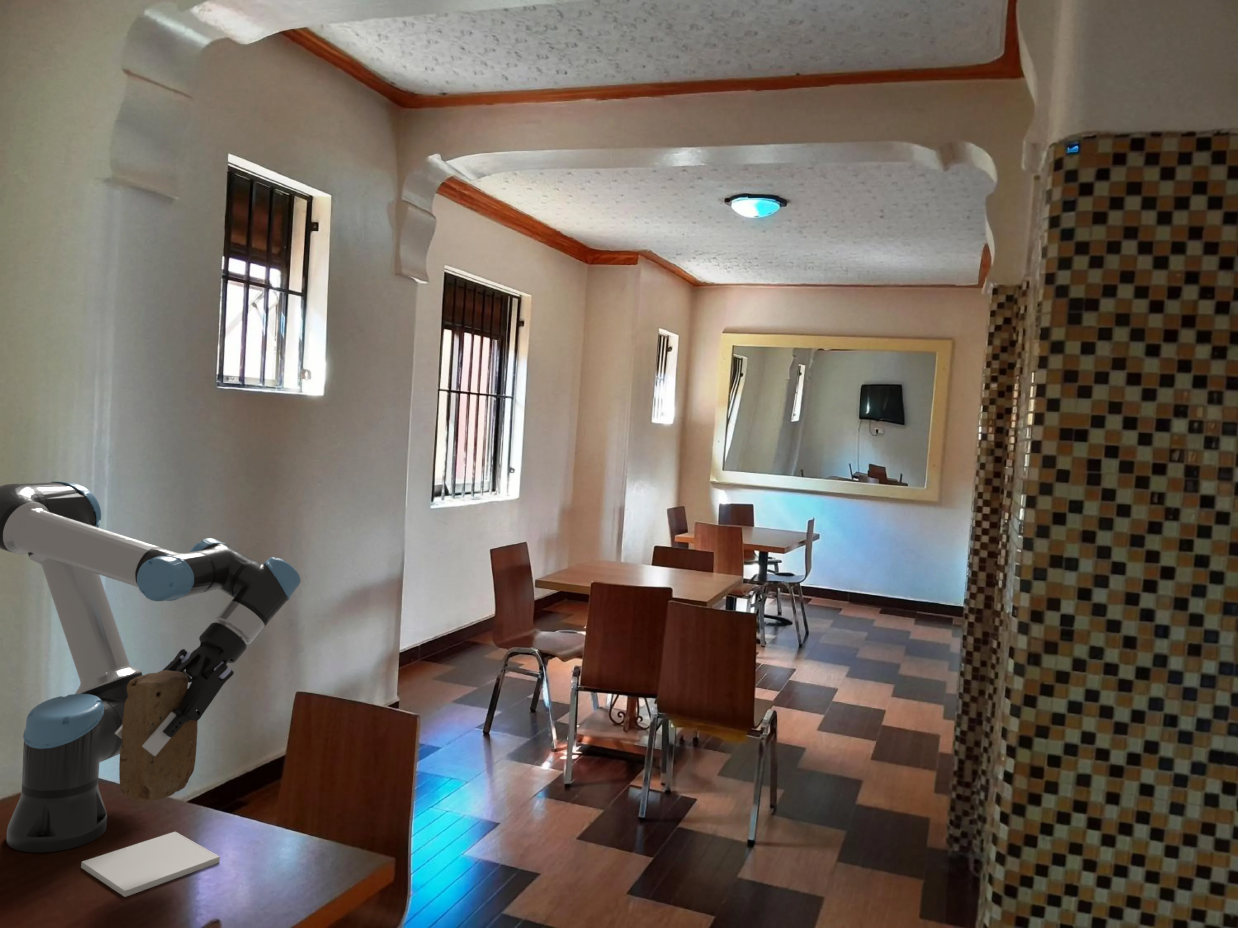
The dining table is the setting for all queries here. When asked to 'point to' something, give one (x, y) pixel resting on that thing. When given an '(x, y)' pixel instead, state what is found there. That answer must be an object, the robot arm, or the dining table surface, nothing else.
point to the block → (141, 718)
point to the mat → (149, 863)
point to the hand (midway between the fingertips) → (134, 744)
